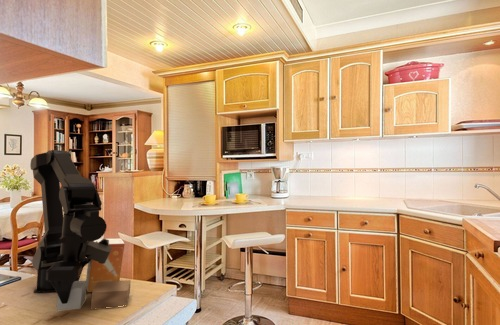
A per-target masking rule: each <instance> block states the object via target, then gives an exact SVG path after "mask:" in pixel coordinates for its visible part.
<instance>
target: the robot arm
mask: <svg viewBox="0 0 500 325" xmlns="http://www.w3.org/2000/svg"><path fill="white" fill-rule="evenodd" d="M30 170H32V175H33V179H35V181H37V183H38V184H40V189H41V190H40V191H41V200H42V203H41V204H42V213H43V223H44V224H43V225H44V233H43V235H42V236H41V239H39V240H40V241H38V247H37V249H36V251H35V253H34V255H33V257H32V268H34V269H35V270H36V271H37V275H36V276H37V277H36V278H37V279H36V288H35V289H34V290H33V293H35V294H36V293H38V294H39V293H50V292H51V293H54V292H56V295H58V296H59V298H60V300H61V303H62V304H66V303H68V300H69V296H70V293H71V289H72V286H73V282H74V281H80V279H81V276H82V272H83V270H84V267H85V266H87V265H88V263H89V262H90V260H95V261H98V262H99V263H101V264H104V263H105V262H106V260H107V258H108V256H109V254H110V252H111V250H112V248H111V246H109V240H107V239H108V238H102V237H103V236H104V235H105V234H106V232H107V223H106V220H105V219H104V218H103V217H102V216H99V214H100V211H101V210H102V204H103V202H102V200H101V197H100V193H99V192H98V188H97V187H96V185H95V184H94V182H92V180H91V179H90V178H88V177H85V176H82V175H81V174H80V172H79V170H78V169H77V167H76V165H75V164H74V162H73V160H72V158H71V153H70V151H67V150H59V149H51V150H47V151H46V152H42V153H37V154H35V155H34V156H33V157H32V158H31V159H30ZM98 239H102V240H101V241H100V242H99V243H98V242H97V241H96V242H94V241H95V240H98Z"/></svg>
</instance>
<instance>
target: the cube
mask: <svg viewBox="0 0 500 325" xmlns="http://www.w3.org/2000/svg"><path fill="white" fill-rule="evenodd" d="M86 282H87V281H86V280H79V281H74V282H73V286H72V289H71V293H70V296H69V300H68V303H66V304H62V303H61V300H60V298H59V296H58V294H56V296H57V297H56V298H57V300H56V311H70V310H80V309H81V308H82V307H83V304H84V303H85V301H86V297H87V296H86V295H87V289H86Z"/></svg>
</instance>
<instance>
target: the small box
mask: <svg viewBox="0 0 500 325" xmlns="http://www.w3.org/2000/svg"><path fill="white" fill-rule="evenodd" d="M102 239H103V238H100V239H98V240H95V241H94V242H96V241H97V242H98V243H99V242H100V241H101V240H102ZM106 239H107V240H109V246H111V248H112V250H111V252H110V254H109V256H108V258H107V260H106V262H105V263H104V264H101V263H99V262H98V261H95V260H90V262H89V263H88V264H87V268H86V276H85V277H86V278H85V281H87V282H86V293H92V292H93V290H94V288H95V286H96V285H97V283H98V282H106V281H121V276H122V275H121V272H122V267H123V261H124V260H123V259H124V252H125V245H126V244H125V242H124V241H123V239H122V238H121V237H120V238H106Z"/></svg>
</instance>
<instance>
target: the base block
mask: <svg viewBox="0 0 500 325" xmlns="http://www.w3.org/2000/svg"><path fill="white" fill-rule="evenodd" d="M129 294H131V279H130V280H127V279H126V280H120V281H106V282H98V283H97V285H96V286H95V288H94V290H93V292H91V301H90V302H91V304H90V310H91V309H92V310H96V309H95V308H105V309H107V308H106V307H118V306H123V305H124V306H125V305H127V306H128V304H129V300H128V299H129V298H130V296H129ZM127 303H128V304H127ZM118 308H119V307H118Z"/></svg>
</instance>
